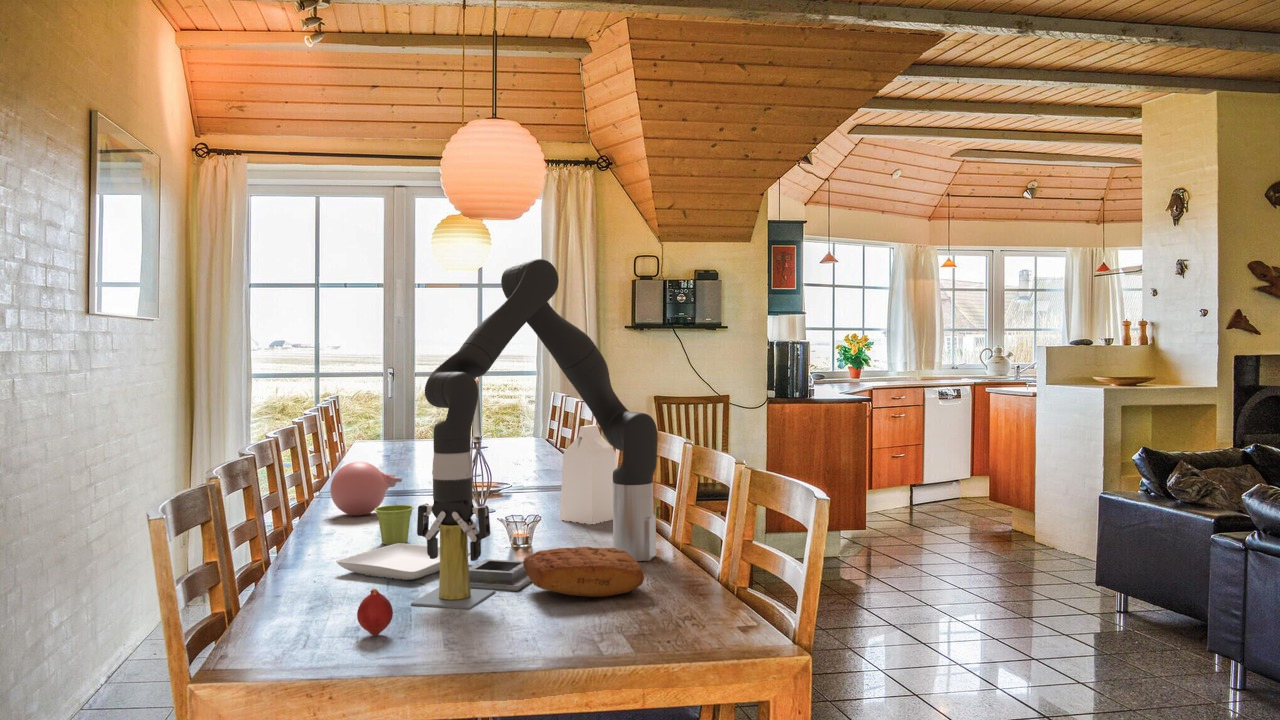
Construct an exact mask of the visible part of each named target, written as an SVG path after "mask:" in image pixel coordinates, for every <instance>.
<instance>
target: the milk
mask: <svg viewBox="0 0 1280 720" xmlns="http://www.w3.org/2000/svg"><path fill="white" fill-rule="evenodd" d="M577 435H578V437H576V438H575V439H574V441H573V442H571V444H570V445H569V446H568V447H567V448H566V449H565V451H564V452H563V454H562V467H561V468H562V469H561V486H560V487H561V489H560V490H561V492H560V508H559V509H560V513H559V520H560V521H562V520H564V521H563V522H569V521H572V523H576V522H579V524H584V523H586V524H585V525H591V524H593V525H597V524H601V523H605V522H608V521H613V471H614V470H615V469H616V468H617V455H616V452H615V448H614V447H613V446H612V445H611V444H610V443H609V442H608V440H607V439H606V438H604V437H603V436H602V434H601V432H600V429H599V427H598V424H589V425H583V426H579V429H578V434H577ZM604 521H605V522H604ZM600 522H601V523H600ZM596 523H597V524H596Z"/></svg>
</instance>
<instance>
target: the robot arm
mask: <svg viewBox="0 0 1280 720" xmlns="http://www.w3.org/2000/svg"><path fill="white" fill-rule="evenodd" d="M559 281H560V280H559V274H558V271H557V270H556V267H555V266H554V265H553V264H552V263H551V262H550V261H549V260H546V259H544V258H543V259H542V258H534V259H530V260H527V261H524V262H520V263H516V264H514V265H512V266H509V267H508V268H506V269H505V270H503V272H502V275H501V279H500V284H501V288H502V292H503V294H504V296H505V298H506V300H505V301H504V302H503V304H501V306H499V307H498V308H497V309H495V311H493V312H492V313H491V314H490V315H489V316H487V318H485V319H484V320H483V321H482V322H480V324H479V325H478V326H477V327H476V328H475V329H474V330H473V331H472V332H471V333H470V335H469V336H468V337H467V338H466V340H465V341H464V343H463V344H461V346H460V348H459V349H458V351H457V352H455V353H454V354H452V355H451V356H450V357H448V358H447V359H446V360H444V361H443V362H442V363H441V364H440V365H439V366H438V367H436V368H435V370H433V372H431V374H430V375H429V376H428V378H427V380H426V383H425V387H424V397H425V399H426V401H427V402H428V404H430V405H431V406H433V407H434V408H435V407H436V408H439V409H447V414H446V418H445V420H442V421H439V422H437V423H436V424H435V425H434V427H433V436H432V437H433V458H432V473H431V475H432V499H433V504H432V505H431V504H429V503H424V504H420V505H419V506H418V508H417V525H416V534H417V536H418V537H423V538H425V539H426V546H427V554H428V556H430V559H435V558H437V557H438V547H439V541H438V540H439V539H438V537H437V535H438V534H440V524H442V525H448V526H453V525H460V527H461V528H462V530H463V531H464V532H465V533H466V534H467V535H468V538H469V539H470V541H469V544H470V545H469V546H470V547H469V548H470V549H469V551H470V555H469V556H470V557H469V558H470V561H471V562H475V561H478V560H479V557H481V555H482V540H483V539H485V538H488V537H489V536H490V535H491V522H490V511H489V509H490V508H489V506H488V505H487V504H486V505H482V506H474V504H473V498H474V496H473V495H474V490H473V489H474V487H473V481H474V479H473V458H472V452H471V450H472V449H471V448H472V447H471V444H472V443H471V442H472V441H471V440H472V439H471V430H472V425H473V422H474V419H475V414H476V410H477V405H478V400H479V387H478V384H477V381H476V380H475V378H479V377H482V376H484V375H485V374H486V373H487V372H489V370H490V369H491V368H492V366H493V364H494V363H495V362H496V361H497V359H498V358H499V356H500V355H501V354H502V352H503V351H504V350H505V348H506V347H507V346H508V344H509V343H510V342H511V340H512V339H513V338H515V335H516V334H517V333H518V332H519V331H520V330H521V329H522V327H524V326H525V324H527V325H528V326H529V327H530V328H531V329H532V331H533V332H534V333H535V334H536V336H537V337H538V339H539V341H541V343H542V344H543V345H544V347H545V348H546V349H547V351H548V352H549V353H550V355H551V356H552V358H553V359H554V360H555V362H556V364H557V365H558V367H559V369H561V370H560V371H562V372H563V374H564V376H565V377H566V379H567V380H568V381H569V382H570V383H571V385H572V386H573V388H574V389H575V391H576V392H577V393H578V395H579V396H580V398H581V399H582V400H583V401H584V403H585V404H586V406H587V408H589V410H590V412H591V414H592V415H593V416H594V418H595V419H594V420H595V421H596V422H597V425H599V427H600V430H601V432H602V434H603V435H604V437H605V440H606V441H607V442H608V443H609V445H610V446H611V447H612V448H613V449H616V450H618V451H621V452H622V462H621V464H620V466H618V467H616V469H615V470H614V471H613V519H612V540H613V542H612V545H613V547H612V548H616V549H618V550H623V551H626V552H627V553H628V554H630V555H631V556H632V557H633V558H634V559H635V560H636V561H637V562H642V561H645V562H646V561H647V562H648V561H649V562H650V561H651V560H652V559H654V558H655V557H656V556H657V530H656V529H657V527H656V526H657V525H656V523H657V521H656V519H657V517H656V514H655V513H654V474H655V471H656V469H657V461H658V429H657V425H656V422H655V420H654V418H653V417H652V415H650V414H647V413H644V412H640V411H639V412H638V411H630V410H628V409H627V408H626V406H625V405H624V404H623V403H622V401H621V400H620V399H619V397H618V396H617V394H616V393H615V391H614V390H613V387H612V383H611V377H610V372H609V368H608V364H607V362H606V360H605V358H604V356H603V354H602V353H601V351H600V350H599V348H598V347H597V345H596V344H595V342H594V341H593V339H591V337H590V336H589V335H587V333H585V332H584V331H583V330H581V329H580V328H578V327H577V326H576V325H574V324H573V323H571V322H570V321H568V320H567V319H565V318H564V317H562V316H561V315H560V314H558V313H557V312H556V311H555V310H554V309H553V307H552V306H551V305H550V303H549V301H550V300H551V299H552V297H554V296H555V294H556V292H557V291H558V288H559ZM431 514H433V516H434V517H435V520H434V521H433V523H432V524H431V526H430V527H429V525H430V515H431ZM473 515H475V517H476V518H477V519H478V528H477V524H476V522H475V521H474V519H473V518H472V516H473ZM429 528H430V529H429Z"/></svg>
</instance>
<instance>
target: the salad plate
mask: <svg viewBox="0 0 1280 720" xmlns="http://www.w3.org/2000/svg"><path fill="white" fill-rule="evenodd" d="M469 556H470V550H468V557H469ZM336 563H337V565H338V566H340V567H341V568H343V569H345V570H347V571H349V572H351V573H352V572H353V573H358V575H362V574H365V575H364V576H369V575H371V577H376V576H378V577H379V578H384V577H386V579H392V578H394V580H401V579H402V581H412V580H418V579H420V578H423V577H426V576H429V575H431V574H435V573H437V572H438V573H439V572H440V546H438V557H437V558H435V559H430V556H428V554H427V545H425V544H423V545H421V544H413V543H395V544H393V545H386V546H382V547H378V548H374V549H371V550H367V551H364V552H361V553H357V554H354V555H351V556H348V557H344V558H341V559H338V560H336Z"/></svg>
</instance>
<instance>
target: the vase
mask: <svg viewBox="0 0 1280 720" xmlns="http://www.w3.org/2000/svg"><path fill="white" fill-rule="evenodd" d="M468 538H469V536H468V535H467V534H466V533H465V532H464V531H463V530H462V528H461V527H460V525H453V526H448V525H442V524H440V532H439V547H440V571H439V575H438V576H439V580H438V581H439V583H438V588H439V598H441V599H443V600H461V599H465V598H468V597H469V596H470V595H471V591H470V589H471V588H470V577H469V569H470V567H469V556H468V551H469V545H468V544H469V539H468Z"/></svg>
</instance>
